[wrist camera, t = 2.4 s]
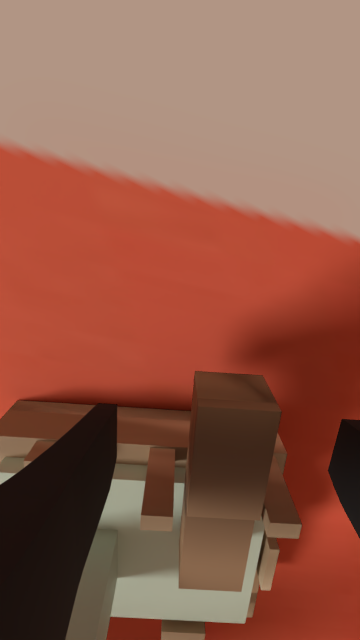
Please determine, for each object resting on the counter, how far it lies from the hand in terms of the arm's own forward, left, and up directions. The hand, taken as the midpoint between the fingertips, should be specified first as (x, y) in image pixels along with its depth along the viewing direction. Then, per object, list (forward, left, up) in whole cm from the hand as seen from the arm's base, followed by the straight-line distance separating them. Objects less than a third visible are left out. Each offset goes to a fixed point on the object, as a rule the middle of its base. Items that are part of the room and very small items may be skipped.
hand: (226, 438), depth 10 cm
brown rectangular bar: (-2, 0, -1) cm, 2 cm away
